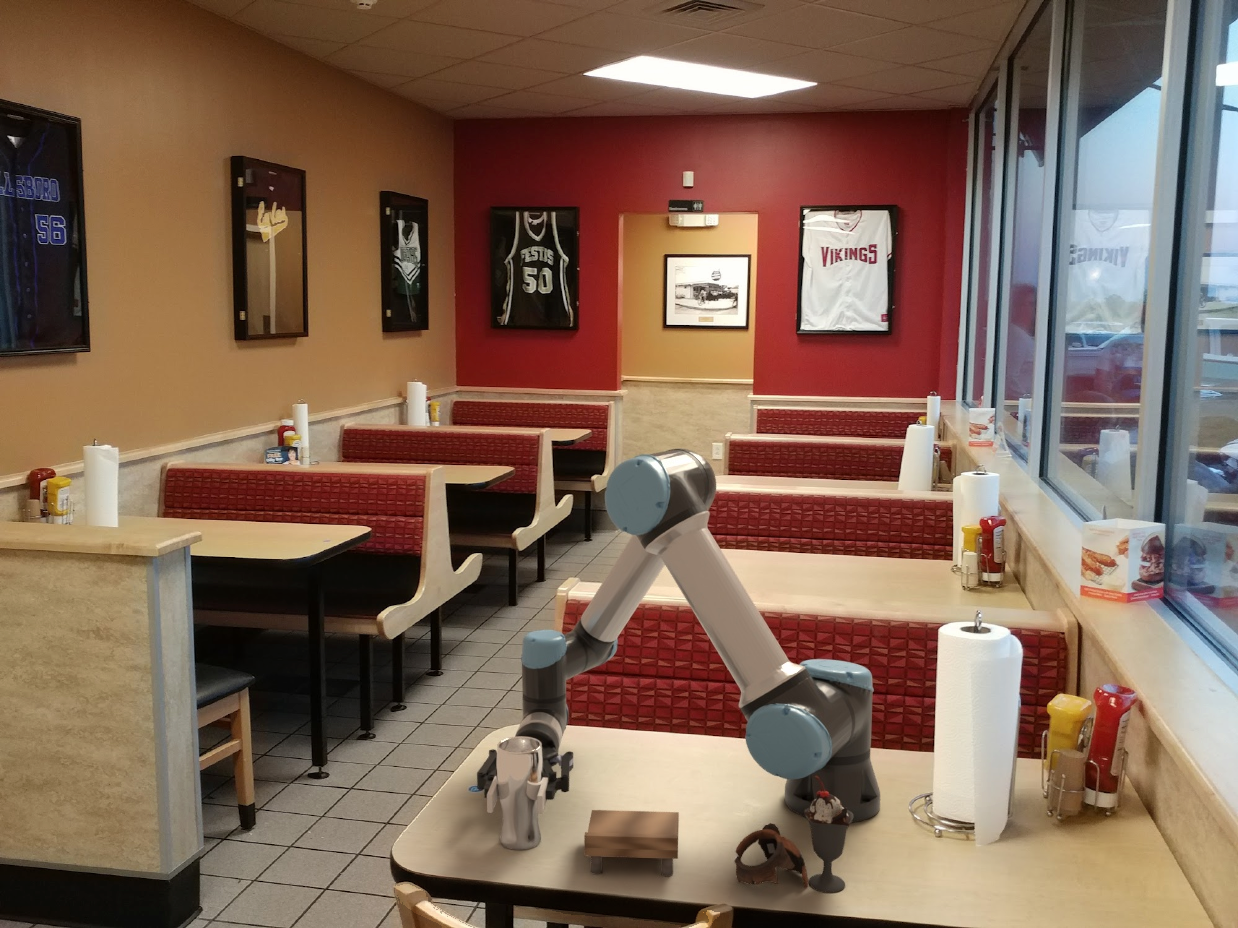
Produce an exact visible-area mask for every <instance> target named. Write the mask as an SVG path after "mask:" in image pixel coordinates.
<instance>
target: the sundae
mask: <svg viewBox="0 0 1238 928" xmlns="http://www.w3.org/2000/svg"><path fill="white" fill-rule="evenodd" d="M815 779H817V780H818V781H819V782H820V784H821V791H818V792H817V799H815V800H814V801H812V804H811V806H810V808H807V809H806V810H805V811H804V816H803V817H805V818H806V819H807V820H808V824H809V826H810V835H811V836H810V838H811V842H812V843H811V844H812V849H813V852H814V854H816V856H817V857H818V858H819V859H820V860H822V864H823V869H822V873H817V874H814V875H812V876H810V878H808V882H809V884H808V885H809V886H810V887H811V889H812V888H813V889H814V890H816V891H818V892H822V893H827V894H829V893H830V894H833V893H838V892H841V891H843V889H845V888H846V882H845V881H844V880H843V879H842V877H840V876H837V875H834V874H833V871H832V870H833V869H832V865H833V862H834V861H836V860H837V859H838V858H840V856H842V854H843V850H844V847H845V843H846V836H847V831H848V827H849V826H850V825H851V823H853V822H852V820H853V813H852V812H850V811H848V810H847V807H845V808H843V807H842V806H841V803H840V801H839V800H838V799H837V798H836V797H835V796H834V795H831V794H829V792H827V791H825V789H824V785H823V783H822V782H821V780H820V779H819V777H817V776H815ZM822 789H823V790H824V791H822Z"/></svg>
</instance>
